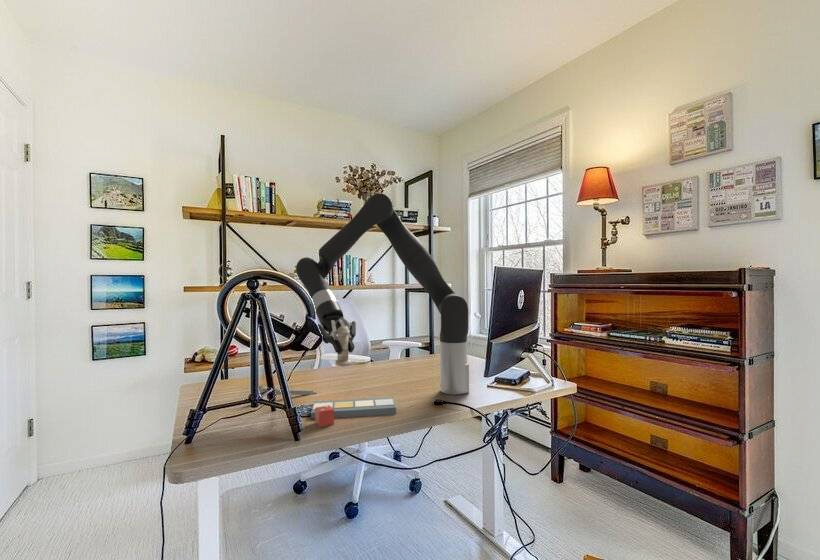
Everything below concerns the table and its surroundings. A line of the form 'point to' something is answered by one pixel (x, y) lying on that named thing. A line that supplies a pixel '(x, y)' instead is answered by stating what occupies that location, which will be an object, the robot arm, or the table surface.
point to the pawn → (343, 347)
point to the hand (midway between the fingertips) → (346, 351)
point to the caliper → (293, 392)
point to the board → (358, 407)
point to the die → (324, 415)
